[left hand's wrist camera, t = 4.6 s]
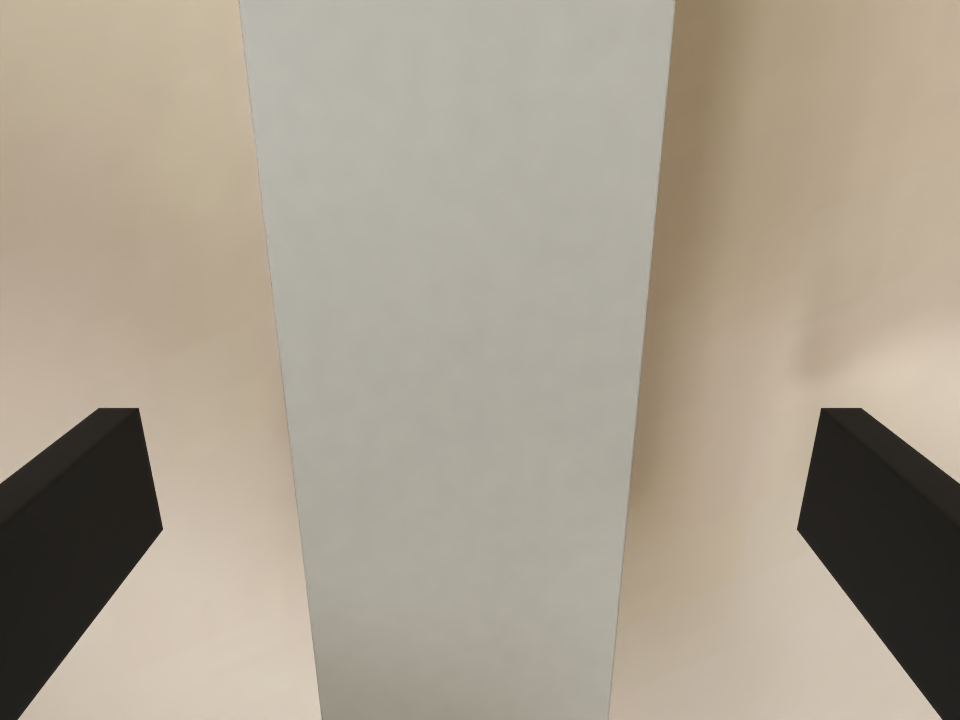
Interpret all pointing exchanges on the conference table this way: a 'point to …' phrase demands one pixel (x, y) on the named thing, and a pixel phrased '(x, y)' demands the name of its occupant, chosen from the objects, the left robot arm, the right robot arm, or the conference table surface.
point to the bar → (460, 335)
